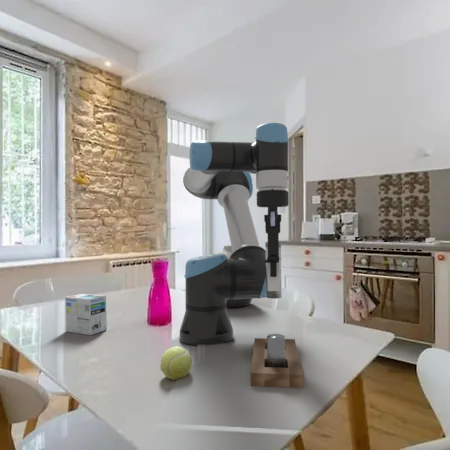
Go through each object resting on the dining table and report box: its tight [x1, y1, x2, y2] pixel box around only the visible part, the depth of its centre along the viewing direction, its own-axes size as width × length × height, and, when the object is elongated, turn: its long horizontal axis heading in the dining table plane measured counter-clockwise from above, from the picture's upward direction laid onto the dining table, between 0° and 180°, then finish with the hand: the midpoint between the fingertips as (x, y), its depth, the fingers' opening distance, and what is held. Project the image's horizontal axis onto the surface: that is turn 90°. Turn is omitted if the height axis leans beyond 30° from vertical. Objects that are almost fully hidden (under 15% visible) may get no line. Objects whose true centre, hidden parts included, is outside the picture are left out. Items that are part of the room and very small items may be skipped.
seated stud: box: [266, 333, 286, 368], centre depth 76 cm, size 4×4×8 cm
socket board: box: [250, 337, 304, 389], centre depth 81 cm, size 10×22×3 cm, turn 173°
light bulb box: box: [64, 293, 108, 336], centre depth 112 cm, size 11×7×11 cm, turn 65°
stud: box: [264, 241, 282, 299], centre depth 86 cm, size 4×4×13 cm
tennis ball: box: [159, 346, 193, 381], centre depth 77 cm, size 6×7×7 cm
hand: (273, 288), depth 86 cm, fingers closed on stud, 4 cm apart
